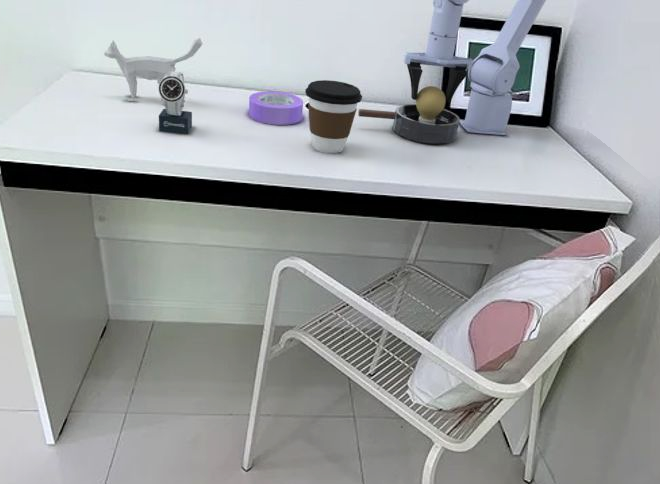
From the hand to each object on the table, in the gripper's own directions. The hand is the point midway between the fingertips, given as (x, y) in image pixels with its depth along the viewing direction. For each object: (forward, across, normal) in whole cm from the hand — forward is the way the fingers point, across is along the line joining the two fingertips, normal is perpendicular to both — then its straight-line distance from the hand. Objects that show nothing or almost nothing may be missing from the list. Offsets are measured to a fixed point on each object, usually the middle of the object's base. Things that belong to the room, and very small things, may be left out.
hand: (430, 99), depth 138 cm
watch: (+8, -53, -9) cm, 54 cm away
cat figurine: (+8, -59, +8) cm, 60 cm away
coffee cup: (+8, -23, -13) cm, 28 cm away
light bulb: (+7, 0, 0) cm, 7 cm away
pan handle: (+5, -11, 0) cm, 12 cm away
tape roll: (+8, -33, +4) cm, 34 cm away
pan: (+8, 0, 0) cm, 8 cm away
